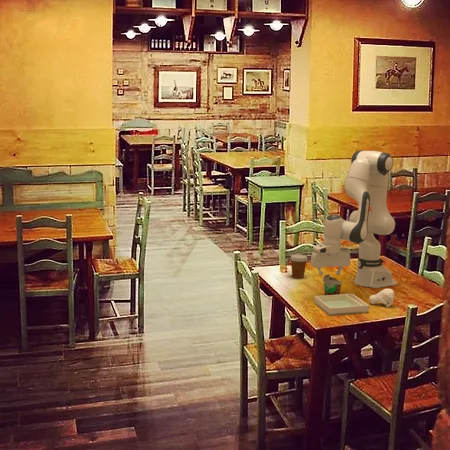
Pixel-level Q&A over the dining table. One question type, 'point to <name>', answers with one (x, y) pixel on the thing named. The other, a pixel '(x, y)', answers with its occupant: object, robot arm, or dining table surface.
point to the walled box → (341, 304)
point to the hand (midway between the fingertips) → (329, 274)
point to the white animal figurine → (383, 297)
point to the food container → (331, 285)
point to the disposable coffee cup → (298, 265)
